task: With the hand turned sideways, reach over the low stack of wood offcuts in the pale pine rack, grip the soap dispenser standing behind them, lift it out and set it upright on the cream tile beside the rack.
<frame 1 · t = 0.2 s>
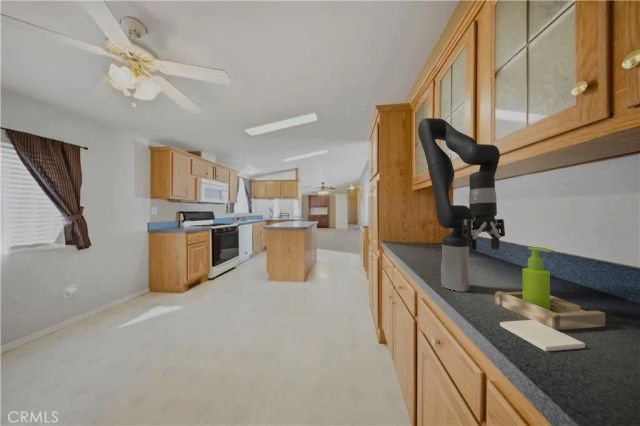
hand: (484, 249, 75), 18 cm above the countertop, tool pointing down, fingers open, 8 cm apart
offcut stack: (557, 312, 67), resting in pine rack
pine rack: (537, 314, 66), on the countertop
soap dispenser: (537, 314, 66), resting in pine rack
cream tile: (538, 335, 55), on the countertop
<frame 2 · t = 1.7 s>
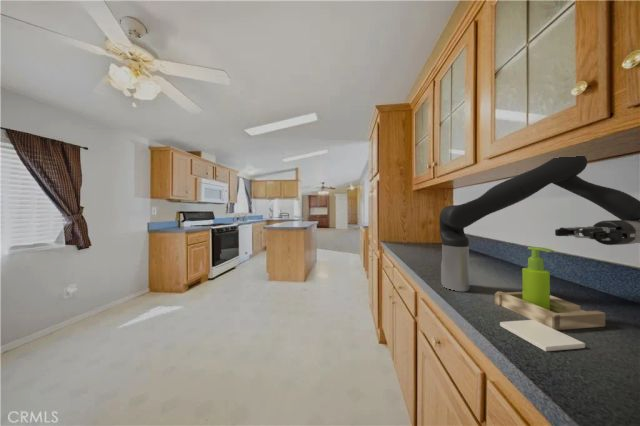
hand: (573, 234, 67), 24 cm above the countertop, tool horizontal, fingers open, 8 cm apart
nothing on the countertop moved.
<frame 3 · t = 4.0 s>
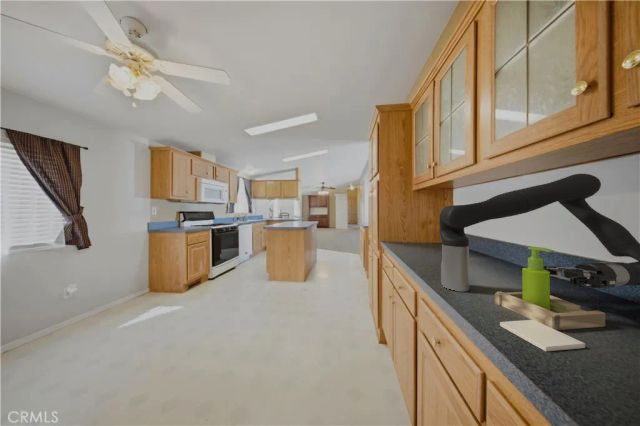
hand: (554, 276, 66), 11 cm above the countertop, tool horizontal, fingers open, 8 cm apart
nothing on the countertop moved.
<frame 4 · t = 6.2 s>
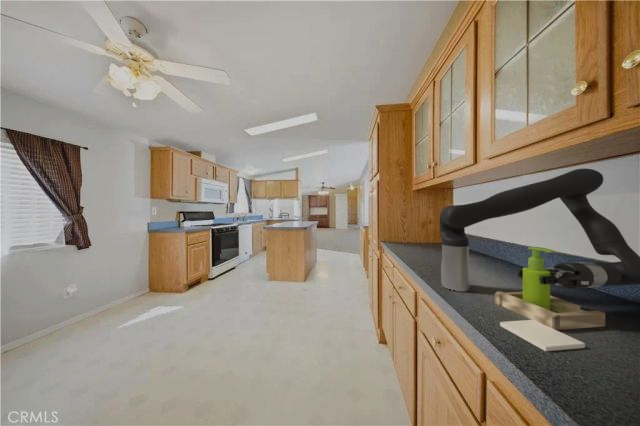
hand: (529, 276, 66), 11 cm above the countertop, tool horizontal, fingers closed on soap dispenser, 6 cm apart
soap dispenser: (537, 314, 66), resting in pine rack, touching gripper
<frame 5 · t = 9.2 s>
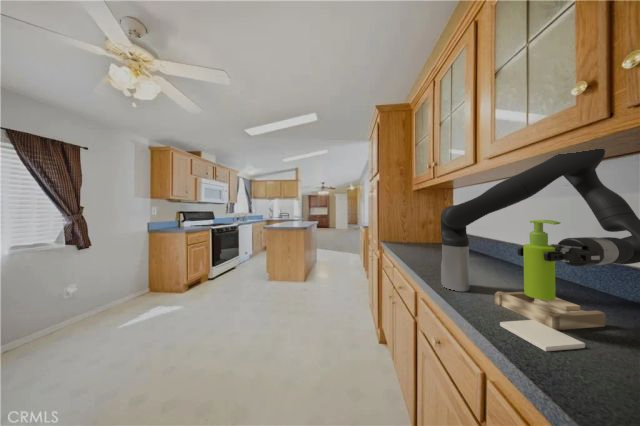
hand: (531, 254, 57), 20 cm above the countertop, tool horizontal, fingers closed on soap dispenser, 6 cm apart
soap dispenser: (541, 297, 58), point 8 cm above the countertop, touching gripper
when the fingers open (13 cm above the countertop, at t = 12.1 s): soap dispenser moves 1 cm, resting on cream tile.
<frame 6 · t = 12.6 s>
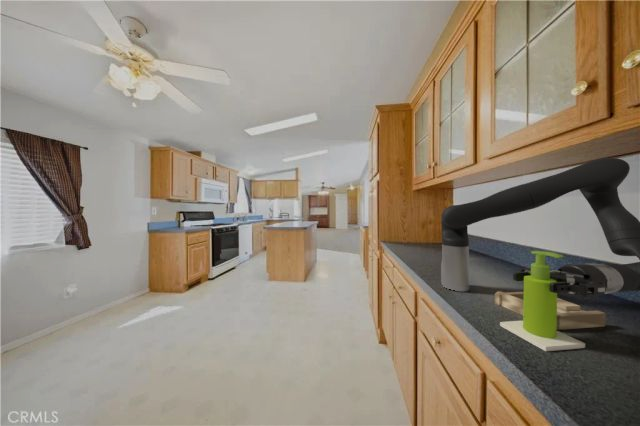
hand: (531, 281, 54), 14 cm above the countertop, tool horizontal, fingers open, 8 cm apart
soap dispenser: (541, 333, 54), point 1 cm above the countertop, touching cream tile
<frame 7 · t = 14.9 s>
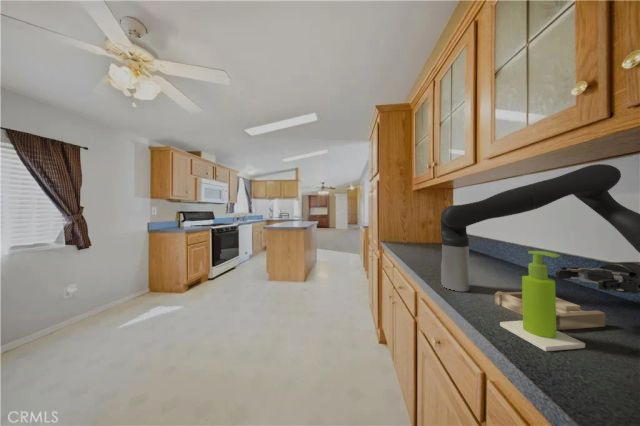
hand: (577, 279, 56), 14 cm above the countertop, tool horizontal, fingers open, 8 cm apart
nothing on the countertop moved.
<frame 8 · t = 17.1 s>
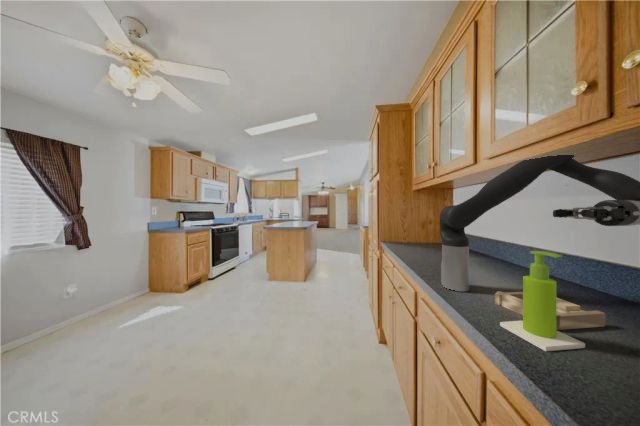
hand: (572, 213, 62), 30 cm above the countertop, tool horizontal, fingers open, 8 cm apart
nothing on the countertop moved.
at the end: soap dispenser inside the target area on the cream tile (0.5 cm from its centre), point 0.8 cm above the cream tile's base; soap dispenser tilted 0°; the gripper is holding nothing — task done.
